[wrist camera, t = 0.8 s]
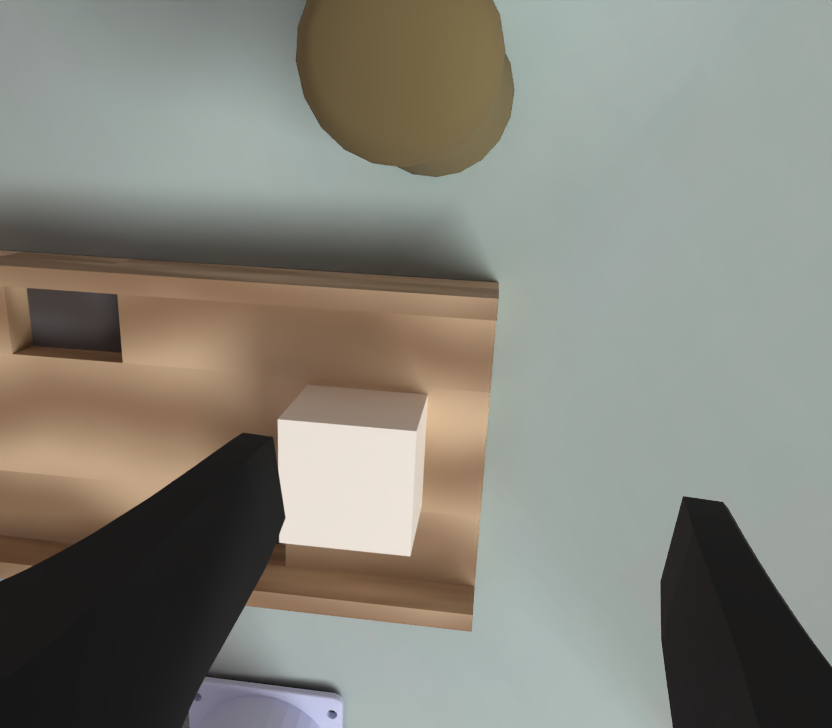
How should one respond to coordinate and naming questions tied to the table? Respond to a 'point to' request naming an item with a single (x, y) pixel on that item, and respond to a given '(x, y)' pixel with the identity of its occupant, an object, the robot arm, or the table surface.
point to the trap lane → (237, 406)
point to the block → (352, 469)
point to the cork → (407, 79)
